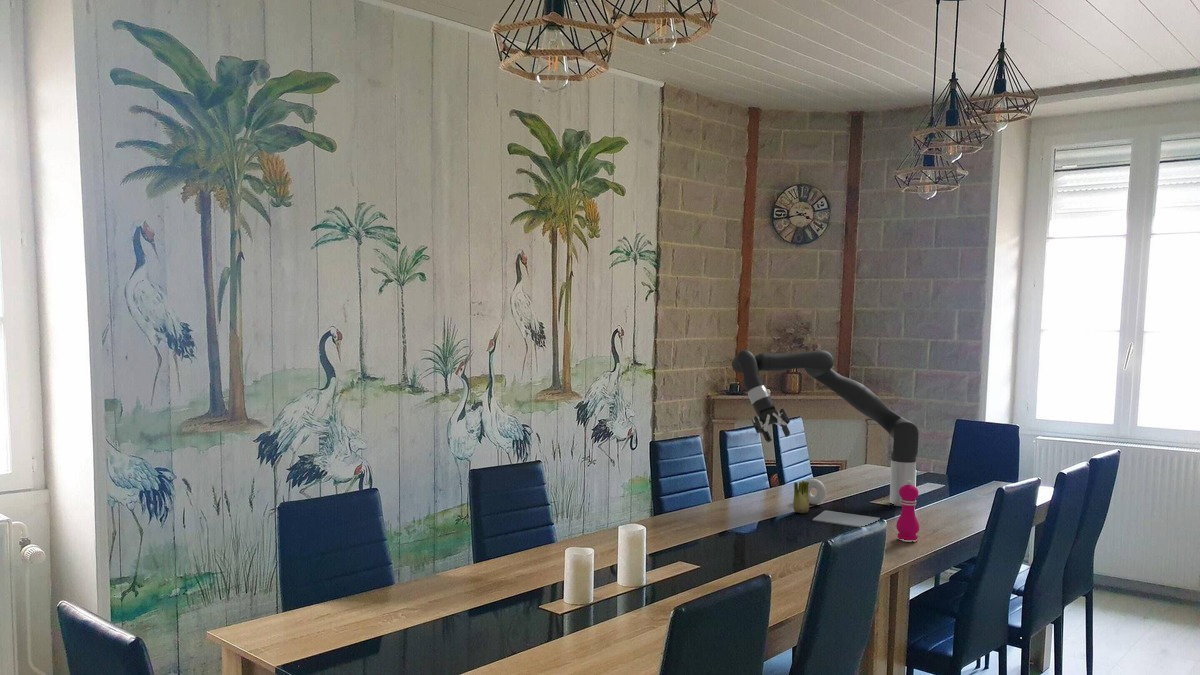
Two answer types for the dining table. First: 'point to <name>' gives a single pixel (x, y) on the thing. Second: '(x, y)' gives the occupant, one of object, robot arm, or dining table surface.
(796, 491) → the fennel bulb
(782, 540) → the dining table surface
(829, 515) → the rubber mat
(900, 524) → the pepper mill
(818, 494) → the donut
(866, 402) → the robot arm
